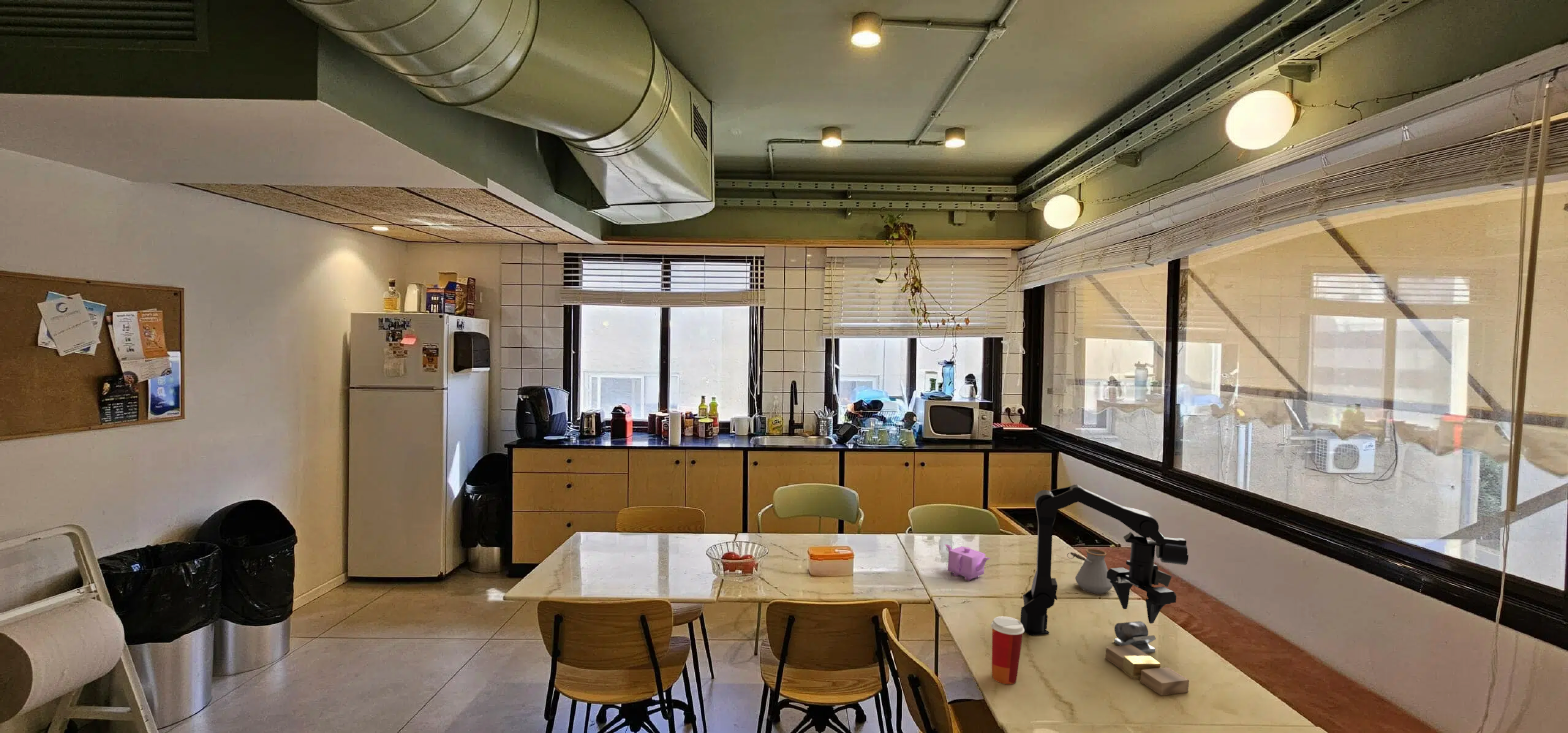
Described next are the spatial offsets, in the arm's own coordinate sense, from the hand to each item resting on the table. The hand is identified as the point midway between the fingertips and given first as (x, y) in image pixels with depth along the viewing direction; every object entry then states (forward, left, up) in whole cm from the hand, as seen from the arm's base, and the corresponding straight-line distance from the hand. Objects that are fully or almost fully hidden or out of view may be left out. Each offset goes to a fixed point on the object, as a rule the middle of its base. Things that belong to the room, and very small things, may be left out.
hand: (1137, 615), depth 183 cm
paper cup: (-46, -8, -9) cm, 48 cm away
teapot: (-18, +56, -9) cm, 60 cm away
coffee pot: (+14, +36, -9) cm, 40 cm away
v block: (0, 0, -9) cm, 9 cm away
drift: (-10, -13, -9) cm, 19 cm away
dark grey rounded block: (-2, 0, -6) cm, 7 cm away
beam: (-9, -13, -9) cm, 18 cm away
